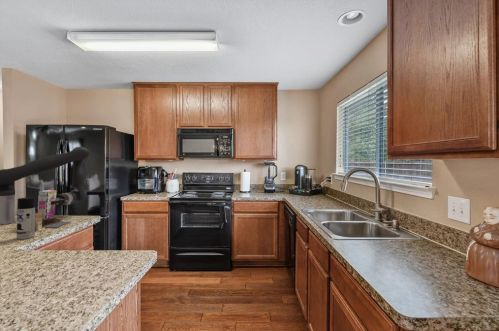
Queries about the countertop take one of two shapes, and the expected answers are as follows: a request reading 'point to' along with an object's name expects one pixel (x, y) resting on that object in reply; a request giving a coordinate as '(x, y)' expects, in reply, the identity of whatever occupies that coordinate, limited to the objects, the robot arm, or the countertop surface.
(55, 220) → the rack
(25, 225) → the spray can
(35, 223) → the maple offcut
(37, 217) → the cherry offcut
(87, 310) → the countertop surface
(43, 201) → the candy bar box
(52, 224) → the rubber mat
